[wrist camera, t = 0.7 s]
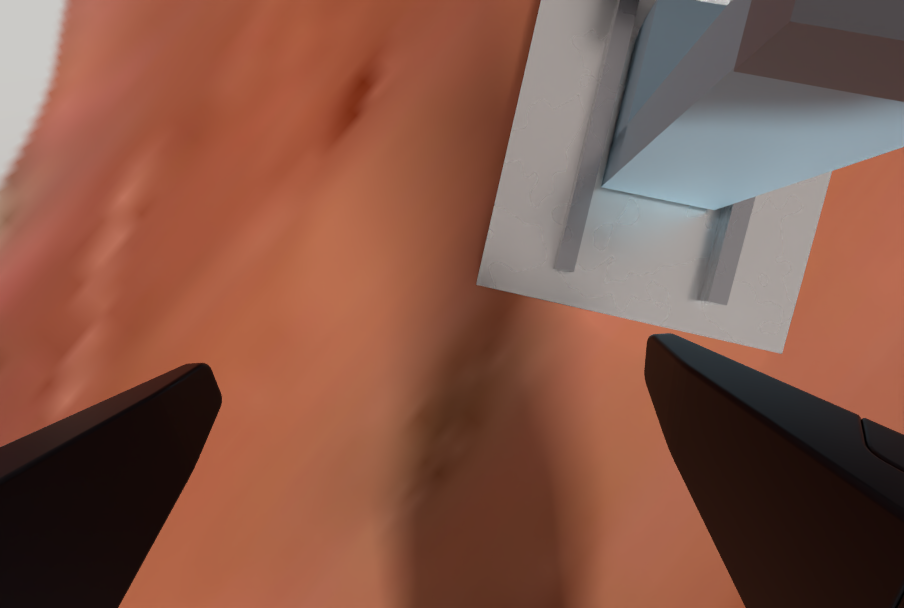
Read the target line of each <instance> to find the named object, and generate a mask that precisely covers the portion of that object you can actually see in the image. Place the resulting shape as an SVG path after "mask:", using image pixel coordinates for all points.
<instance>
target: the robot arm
mask: <svg viewBox="0 0 904 608" xmlns="http://www.w3.org/2000/svg"><path fill="white" fill-rule="evenodd" d="M644 375H645V381H646V385H647V388H648V391H649V394H650V396H651V399H652V402H653V405H654V408H655V411H656V414H657V417H658V420H659V423H660V426H661V428H662V431H663V434H664V437H665V440H666V443H667V445H668V448H669V450H670V453H671V455H672V457H673V459H674V462H675V464H676V466H677V468H678V470H679V472H680V474H681V476H682V478H683V480H684V482H685V484H686V486H687V488H688V490H689V492H690V494H691V496H692V498H693V501H694V503H695V505H696V507H697V509H698V511H699V513H700V515H701V517H702V519H703V521H704V523H705V525H706V527H707V529H708V531H709V533H710V535H711V537H712V539H713V542H714V544H715V546H716V548H717V550H718V552H719V554H720V556H721V558H722V560H723V562H724V564H725V566H726V568H727V570H728V572H729V574H730V576H731V578H732V581H733V583H734V585H735V587H736V589H737V591H738V593H739V595H740V597H741V599H742V601H743V603H744V605H745V607H746V608H904V435H903V434H901V433H898V432H896V431H894V430H891V429H889V428H887V427H885V426H882V425H880V424H878V423H876V422H873V421H871V420H869V419H866V418H863V419H861V418H860V416H859V415H857V414H855V413H852V412H850V411H848V410H846V409H843V408H841V407H839V406H837V405H834V404H832V403H830V402H827V401H825V400H823V399H821V398H818V397H816V396H814V395H811V394H809V393H807V392H805V391H802V390H800V389H798V388H795V387H793V386H791V385H789V384H786V383H784V382H782V381H779V380H777V379H775V378H773V377H770V376H768V375H766V374H763V373H761V372H759V371H757V370H754V369H752V368H750V367H747V366H745V365H743V364H741V363H738V362H736V361H734V360H731V359H729V358H727V357H725V356H722V355H720V354H718V353H716V352H713V351H711V350H709V349H706V348H704V347H702V346H700V345H697V344H695V343H693V342H690V341H688V340H686V339H684V338H681V337H679V336H677V335H674V334H670V333H667V334H653V335H651V336H650V337H649V338H648V341H647V348H646V359H645V370H644ZM221 403H222V396H221V392H220V390H219V387H218V385H217V382H216V380H215V377H214V375H213V372H212V370H211V368H210V366H209V365H207V364H205V363H192V364H185V365H183V366H180V367H178V368H176V369H174V370H171V371H169V372H167V373H165V374H163V375H160V376H158V377H156V378H154V379H151V380H149V381H147V382H145V383H142V384H140V385H138V386H136V387H134V388H131V389H129V390H127V391H125V392H122V393H120V394H118V395H116V396H114V397H111V398H109V399H107V400H105V401H102V402H100V403H98V404H96V405H93V406H91V407H89V408H87V409H85V410H82V411H80V412H78V413H76V414H73V415H71V416H69V417H67V418H64V419H62V420H60V421H58V422H56V423H53V424H51V425H49V426H47V427H44V428H42V429H40V430H38V431H36V432H33V433H31V434H29V435H27V436H24V437H22V438H20V439H18V440H15V441H13V442H11V443H9V444H7V445H4V446H2V447H0V608H118V607H119V605H120V603H121V602H122V600H123V598H124V596H125V594H126V593H127V591H128V589H129V587H130V585H131V583H132V582H133V580H134V578H135V576H136V574H137V572H138V571H139V569H140V567H141V565H142V563H143V562H144V560H145V558H146V556H147V554H148V552H149V551H150V549H151V547H152V545H153V543H154V541H155V540H156V538H157V536H158V534H159V532H160V530H161V529H162V527H163V525H164V523H165V521H166V520H167V518H168V516H169V514H170V512H171V510H172V509H173V507H174V505H175V503H176V501H177V499H178V498H179V496H180V494H181V492H182V490H183V489H184V487H185V485H186V483H187V481H188V479H189V477H190V475H191V474H192V472H193V470H194V468H195V465H196V463H197V461H198V459H199V456H200V454H201V452H202V449H203V447H204V445H205V442H206V440H207V438H208V435H209V433H210V431H211V428H212V426H213V424H214V421H215V419H216V417H217V414H218V412H219V409H220V407H221Z"/></svg>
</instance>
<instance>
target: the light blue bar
mask: <svg viewBox="0 0 904 608" xmlns="http://www.w3.org/2000/svg"><path fill="white" fill-rule="evenodd" d="M902 147H904V0H731V1H730V3H729V4H728V5H727V6H726V5H720V4H714V3H708V2H702V1H696V0H656V1H655V3H654V4H653V6H652V8H651V10H650V11H649V13H648V15H647V17H646V18H645V20H644V22H643V24H642V25H641V27H640V29H639V32H638V36H637V41H636V45H635V49H634V53H633V57H632V61H631V65H630V69H629V74H628V78H627V82H626V86H625V90H624V94H623V98H622V102H621V107H620V111H619V115H618V119H617V123H616V127H615V131H614V135H613V140H612V144H611V148H610V152H609V156H608V160H607V164H606V168H605V173H604V177H603V181H602V185H601V187H603V188H608V189H613V190H618V191H623V192H628V193H633V194H637V195H642V196H647V197H652V198H657V199H662V200H667V201H672V202H677V203H681V204H686V205H691V206H696V207H701V208H706V209H711V210H716V209H719V208H722V207H725V206H728V205H731V204H734V203H737V202H740V201H743V200H746V199H749V198H752V197H755V196H758V195H761V194H764V193H767V192H770V191H773V190H776V189H779V188H782V187H785V186H788V185H791V184H794V183H797V182H800V181H803V180H806V179H809V178H812V177H815V176H818V175H821V174H824V173H827V172H830V171H833V170H836V169H839V168H842V167H845V166H848V165H851V164H854V163H857V162H860V161H863V160H866V159H869V158H872V157H875V156H878V155H881V154H884V153H887V152H890V151H893V150H896V149H899V148H902Z"/></svg>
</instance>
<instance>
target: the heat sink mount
mask: <svg viewBox="0 0 904 608" xmlns="http://www.w3.org/2000/svg"><path fill="white" fill-rule="evenodd" d="M655 1H656V0H541V2H540V7H539V11H538V15H537V20H536V24H535V29H534V33H533V37H532V42H531V46H530V50H529V55H528V59H527V64H526V68H525V72H524V77H523V81H522V86H521V90H520V94H519V99H518V103H517V107H516V112H515V116H514V121H513V125H512V129H511V134H510V138H509V143H508V147H507V151H506V156H505V160H504V164H503V169H502V173H501V178H500V182H499V186H498V191H497V195H496V200H495V204H494V208H493V213H492V217H491V221H490V226H489V230H488V235H487V239H486V243H485V248H484V252H483V256H482V261H481V265H480V270H479V274H478V278H477V283H476V285H480V286H484V287H489V288H493V289H497V290H502V291H506V292H511V293H515V294H520V295H524V296H528V297H533V298H537V299H542V300H546V301H551V302H555V303H559V304H564V305H568V306H573V307H577V308H581V309H586V310H590V311H595V312H599V313H604V314H608V315H612V316H617V317H621V318H626V319H630V320H635V321H639V322H643V323H648V324H652V325H657V326H661V327H666V328H670V329H674V330H679V331H683V332H688V333H692V334H696V335H701V336H705V337H710V338H714V339H719V340H723V341H727V342H732V343H736V344H741V345H745V346H750V347H754V348H758V349H763V350H767V351H772V352H776V353H781V354H782V352H783V348H784V345H785V341H786V337H787V334H788V330H789V326H790V323H791V319H792V316H793V312H794V308H795V305H796V301H797V297H798V294H799V290H800V286H801V283H802V279H803V275H804V272H805V268H806V264H807V261H808V257H809V254H810V250H811V246H812V243H813V239H814V235H815V232H816V228H817V224H818V221H819V217H820V213H821V210H822V206H823V202H824V199H825V195H826V191H827V188H828V184H829V181H830V177H831V173H832V171H830V172H827V173H824V174H821V175H818V176H815V177H812V178H809V179H806V180H803V181H800V182H797V183H794V184H791V185H788V186H785V187H782V188H779V189H776V190H773V191H770V192H767V193H764V194H761V195H758V196H755V197H752V198H749V199H746V200H743V201H740V202H737V203H734V204H731V205H728V206H725V207H722V208H719V209H716V210H711V209H706V208H701V207H696V206H691V205H686V204H681V203H677V202H672V201H667V200H662V199H657V198H652V197H647V196H642V195H637V194H633V193H628V192H623V191H618V190H613V189H608V188H603V187H601V185H602V181H603V177H604V173H605V168H606V164H607V160H608V156H609V152H610V148H611V144H612V140H613V135H614V131H615V127H616V123H617V119H618V115H619V111H620V107H621V102H622V98H623V94H624V90H625V86H626V82H627V78H628V74H629V69H630V65H631V61H632V57H633V53H634V49H635V45H636V41H637V36H638V32H639V29H640V27H641V25H642V24H643V22H644V20H645V18H646V17H647V15H648V13H649V11H650V10H651V8H652V6H653V4H654V3H655ZM696 1H702V2H708V3H714V4H720V5H726V6H727V5H728V4H729V3H730V1H731V0H696Z"/></svg>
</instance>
